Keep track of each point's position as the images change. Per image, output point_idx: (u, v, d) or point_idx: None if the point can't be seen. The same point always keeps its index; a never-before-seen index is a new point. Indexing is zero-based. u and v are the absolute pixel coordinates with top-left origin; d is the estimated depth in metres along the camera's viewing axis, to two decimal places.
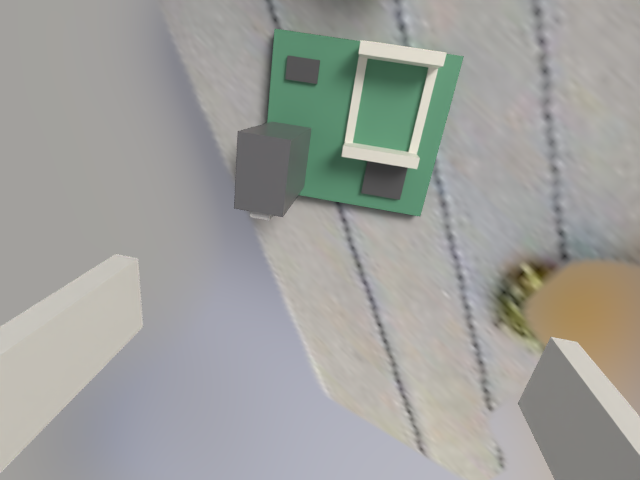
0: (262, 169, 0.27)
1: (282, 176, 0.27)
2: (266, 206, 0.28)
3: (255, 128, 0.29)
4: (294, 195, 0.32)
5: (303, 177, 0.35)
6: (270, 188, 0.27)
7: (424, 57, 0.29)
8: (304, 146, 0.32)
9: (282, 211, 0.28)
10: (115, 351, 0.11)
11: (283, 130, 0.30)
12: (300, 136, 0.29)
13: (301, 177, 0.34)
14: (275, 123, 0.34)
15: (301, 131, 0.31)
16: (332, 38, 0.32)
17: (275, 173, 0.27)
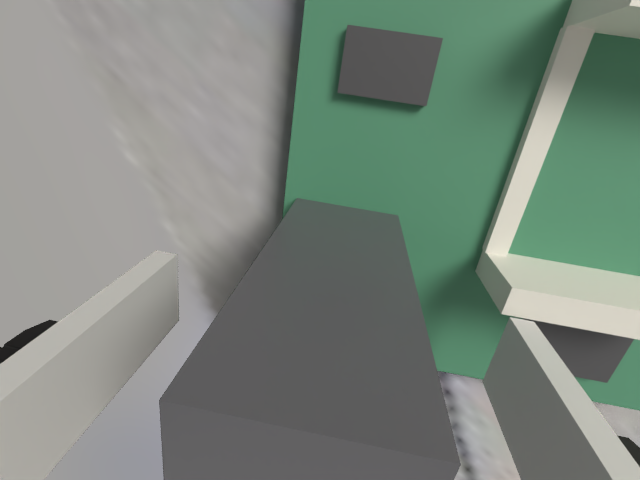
0: None
1: None
2: None
3: (255, 289, 0.07)
4: None
5: None
6: None
7: None
8: None
9: None
10: (156, 343, 0.12)
11: (350, 272, 0.09)
12: None
13: None
14: (308, 210, 0.13)
15: (398, 258, 0.10)
16: None
17: None
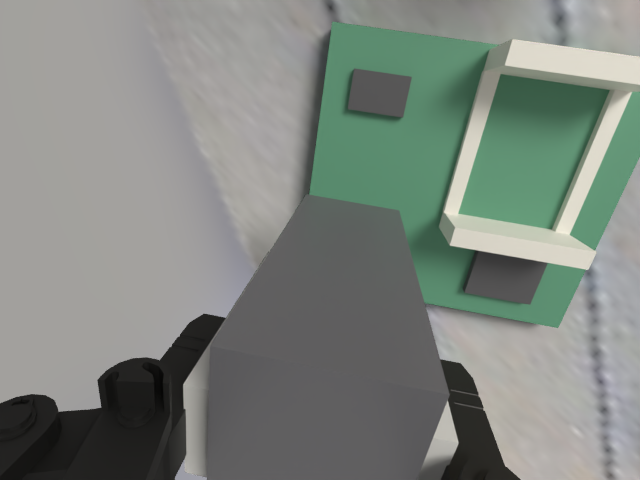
0: (311, 469, 0.07)
1: None
2: None
3: (276, 268, 0.09)
4: None
5: None
6: None
7: (637, 72, 0.15)
8: None
9: None
10: None
11: (357, 256, 0.10)
12: None
13: None
14: (317, 204, 0.14)
15: (399, 246, 0.11)
16: (436, 38, 0.18)
17: None
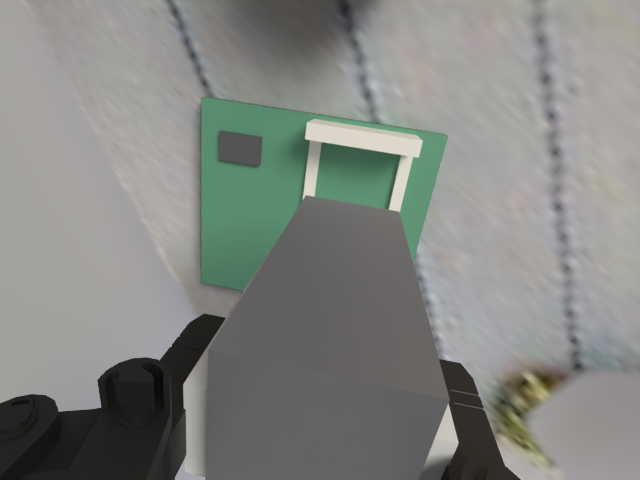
0: (310, 474, 0.07)
1: None
2: None
3: (276, 271, 0.09)
4: None
5: None
6: None
7: (392, 146, 0.21)
8: None
9: None
10: None
11: (357, 258, 0.10)
12: None
13: None
14: (316, 206, 0.14)
15: (399, 247, 0.11)
16: (276, 110, 0.24)
17: None
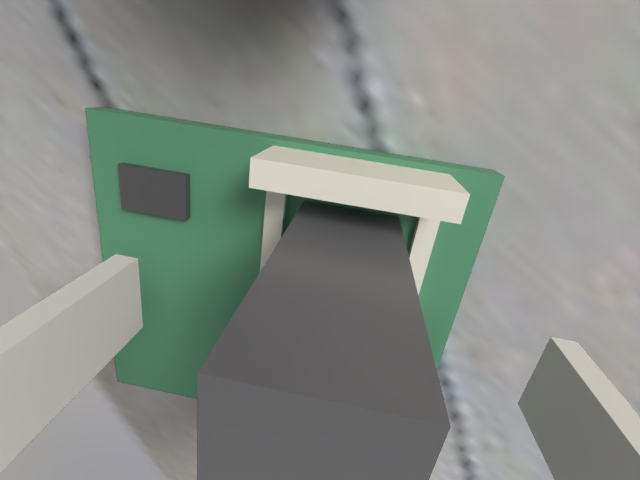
0: None
1: None
2: None
3: (271, 283, 0.08)
4: None
5: None
6: None
7: (411, 202, 0.11)
8: None
9: None
10: (115, 351, 0.11)
11: (356, 269, 0.10)
12: None
13: None
14: (315, 212, 0.14)
15: (399, 256, 0.11)
16: (209, 130, 0.14)
17: None
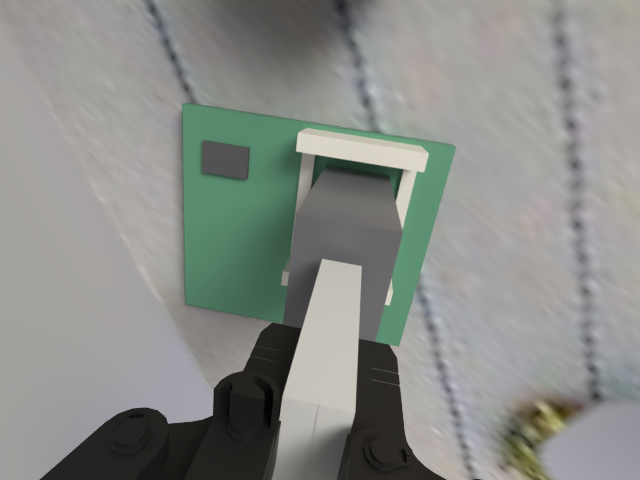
0: None
1: (377, 295, 0.14)
2: None
3: (317, 194, 0.16)
4: None
5: None
6: None
7: (394, 159, 0.19)
8: None
9: None
10: None
11: (361, 192, 0.17)
12: None
13: None
14: (334, 170, 0.21)
15: (387, 190, 0.18)
16: (265, 118, 0.22)
17: (365, 288, 0.14)
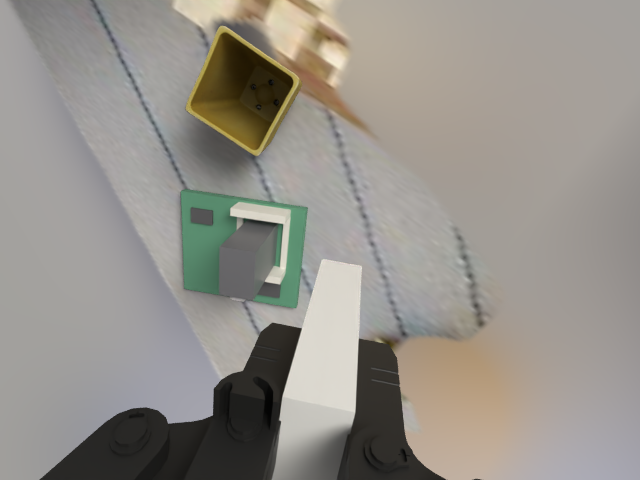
0: (237, 270, 0.38)
1: (251, 275, 0.38)
2: (241, 293, 0.39)
3: (233, 237, 0.40)
4: (264, 278, 0.43)
5: (273, 258, 0.47)
6: (243, 282, 0.39)
7: (271, 218, 0.43)
8: (271, 241, 0.44)
9: (252, 297, 0.39)
10: None
11: (254, 235, 0.42)
12: (265, 240, 0.41)
13: (271, 261, 0.46)
14: (250, 221, 0.46)
15: (268, 232, 0.43)
16: (219, 197, 0.46)
17: (246, 272, 0.38)
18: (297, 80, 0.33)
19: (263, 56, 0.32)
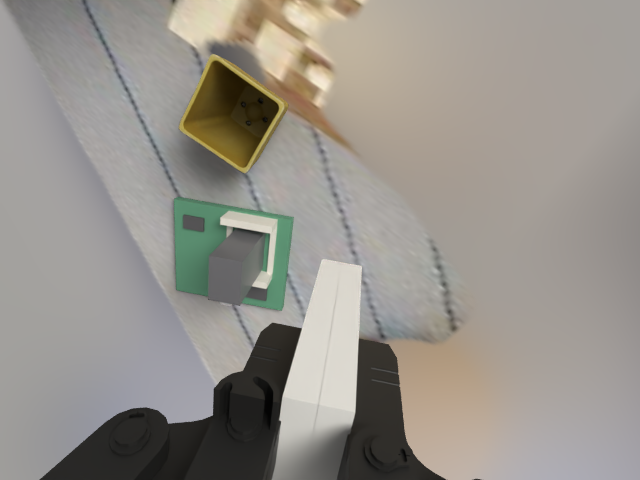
0: (225, 277, 0.41)
1: (238, 282, 0.41)
2: (229, 299, 0.43)
3: (222, 245, 0.43)
4: (251, 283, 0.47)
5: (260, 264, 0.50)
6: (231, 288, 0.42)
7: (259, 228, 0.46)
8: (258, 248, 0.47)
9: (239, 302, 0.43)
10: None
11: (242, 243, 0.45)
12: (252, 249, 0.44)
13: (258, 267, 0.49)
14: (239, 229, 0.49)
15: (255, 241, 0.46)
16: (210, 206, 0.49)
17: (234, 280, 0.41)
18: (282, 106, 0.36)
19: (251, 83, 0.35)
